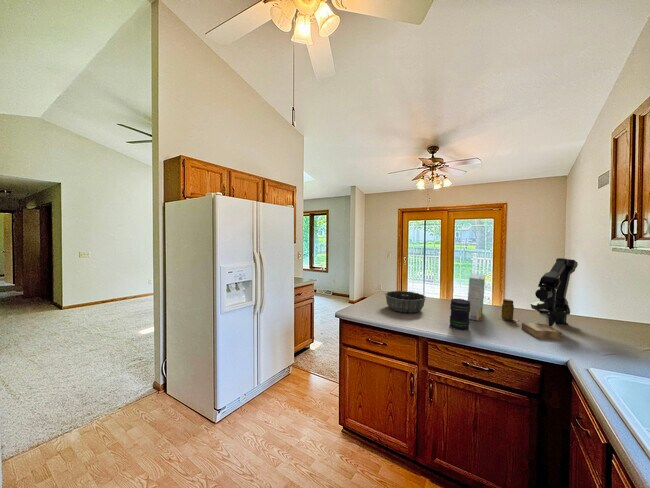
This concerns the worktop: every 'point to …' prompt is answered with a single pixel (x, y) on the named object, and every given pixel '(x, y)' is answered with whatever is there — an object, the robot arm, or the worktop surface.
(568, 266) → the robot arm
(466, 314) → the storage jar
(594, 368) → the worktop surface
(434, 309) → the worktop surface
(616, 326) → the worktop surface
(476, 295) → the snack box
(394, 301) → the bundt pan
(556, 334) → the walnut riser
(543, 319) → the cream block
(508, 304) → the condiment
